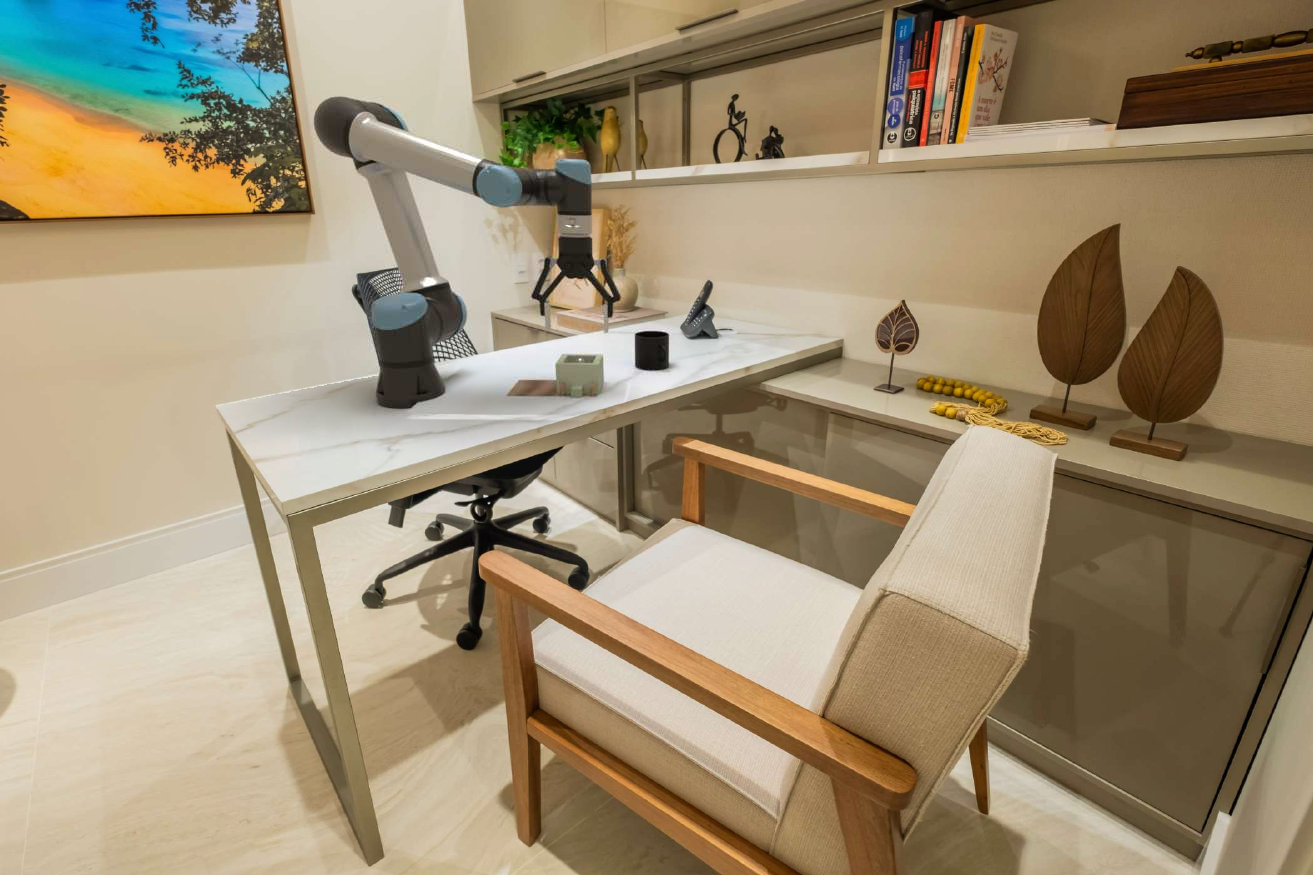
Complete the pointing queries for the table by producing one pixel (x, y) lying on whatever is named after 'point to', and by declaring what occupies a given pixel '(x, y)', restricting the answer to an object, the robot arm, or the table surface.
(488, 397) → the table surface
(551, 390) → the board
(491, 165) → the robot arm
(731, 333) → the table surface
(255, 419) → the table surface
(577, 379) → the sage green storage bin
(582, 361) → the post
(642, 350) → the mug
